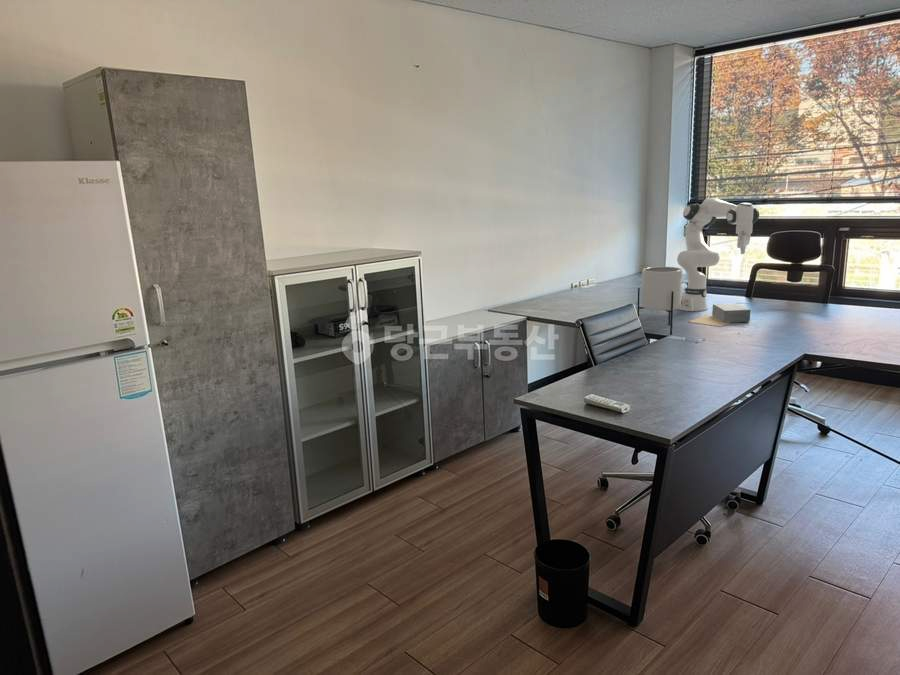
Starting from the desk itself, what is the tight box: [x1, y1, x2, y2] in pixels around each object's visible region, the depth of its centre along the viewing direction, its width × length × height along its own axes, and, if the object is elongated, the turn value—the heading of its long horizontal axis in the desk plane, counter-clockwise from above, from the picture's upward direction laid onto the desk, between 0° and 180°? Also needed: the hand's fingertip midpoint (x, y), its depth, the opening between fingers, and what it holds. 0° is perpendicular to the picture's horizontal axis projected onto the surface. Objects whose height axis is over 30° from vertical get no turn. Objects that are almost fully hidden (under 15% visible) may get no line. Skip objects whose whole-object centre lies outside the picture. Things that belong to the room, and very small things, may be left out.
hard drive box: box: [711, 302, 751, 323], centre depth 372 cm, size 16×8×20 cm
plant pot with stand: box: [637, 266, 683, 335], centre depth 355 cm, size 24×24×36 cm
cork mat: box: [688, 314, 733, 328], centre depth 371 cm, size 20×22×1 cm
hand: (742, 253), depth 367 cm, fingers closed
